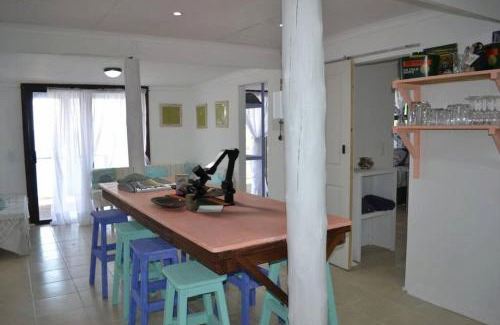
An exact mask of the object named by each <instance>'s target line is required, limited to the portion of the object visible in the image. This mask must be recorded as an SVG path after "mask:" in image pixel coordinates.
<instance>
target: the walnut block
mask: <svg viewBox="0 0 500 325" xmlns="http://www.w3.org/2000/svg"><path fill="white" fill-rule="evenodd" d="M195 194H196V193H193V194H187V195H185V197H186V199H185V210H186V211H195V210H197V199H196V200H195V201H192V199H193V198H194V196H195ZM185 197H184V198H185Z"/></svg>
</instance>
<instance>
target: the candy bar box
mask: <svg viewBox="0 0 500 325" xmlns="http://www.w3.org/2000/svg"><path fill="white" fill-rule="evenodd" d="M174 176H175V181H174V183H176V189H175V195H176V196H177V195H180V196H181V195H183V193H182V192H180V191H179V190H178V189H180V188H184V189H186V188H185V186H186V185H191V184H190V183H188V181H189V179H191V174H190V173H176V174H175V175H174Z"/></svg>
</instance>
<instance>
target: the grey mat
mask: <svg viewBox="0 0 500 325" xmlns="http://www.w3.org/2000/svg"><path fill="white" fill-rule="evenodd" d="M223 208H224V205H199V206H198V208H197V209H196V213H221V212H222V211H223Z"/></svg>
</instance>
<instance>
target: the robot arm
mask: <svg viewBox="0 0 500 325" xmlns="http://www.w3.org/2000/svg"><path fill="white" fill-rule="evenodd" d="M239 155H240V149H239V148H237V147H236V148H235V147H229V148H222V149H221V150H220V152H218V154H217V155H216V157H215V158H214V159H213V160H212V161H211V163H209V164H207V165H206V166H205V167H204V168H203V167H202V166H201V164H197V165H196V166H194V167H193V168H192V169H191V172H192V173H193V174H194V175H195V176H196V177H197V178H195V179H193V178H190V179H189V181H188V183H190V185H186V186H185V188H186V189H187V194H195V196H194V198H193V199H192V201H195V200H196V201H197V200H198V199H200V198H202V197H204V196H207V195H208V190H207V189H206V188H205V187H206V186H207V185H206V184H207V182H208V181H212V176H213V175H215V174H216V172H217V170H218V167H219V166H220V164H221V163H222V161H224V159H225V158H226V157H227V159H228V162H227V168H226V172H225V178H224V180H221V184H220V188H221V190H222V193H224V195H223V198H224V199H223V201H224V203H234V202H235V196H234V195H235V194H236V192H237V190H236V189H235V188H234V183H233V176H234V172H235V166H236V161H237V160H238V158H239ZM187 194H186V195H187ZM184 198H185V199H184V200H186V197H184Z"/></svg>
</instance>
